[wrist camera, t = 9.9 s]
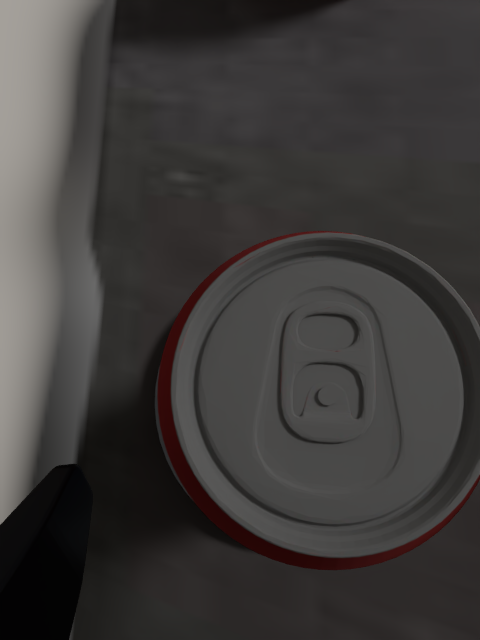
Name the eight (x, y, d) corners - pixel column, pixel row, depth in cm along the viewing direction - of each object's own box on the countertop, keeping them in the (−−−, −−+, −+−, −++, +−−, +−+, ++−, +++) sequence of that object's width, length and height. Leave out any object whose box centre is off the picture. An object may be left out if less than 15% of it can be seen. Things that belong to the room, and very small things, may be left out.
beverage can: (218, 479, 19) (110, 590, 7) (225, 319, 20) (144, 194, 9) (386, 489, 18) (565, 630, 7) (383, 323, 20) (529, 192, 8)
